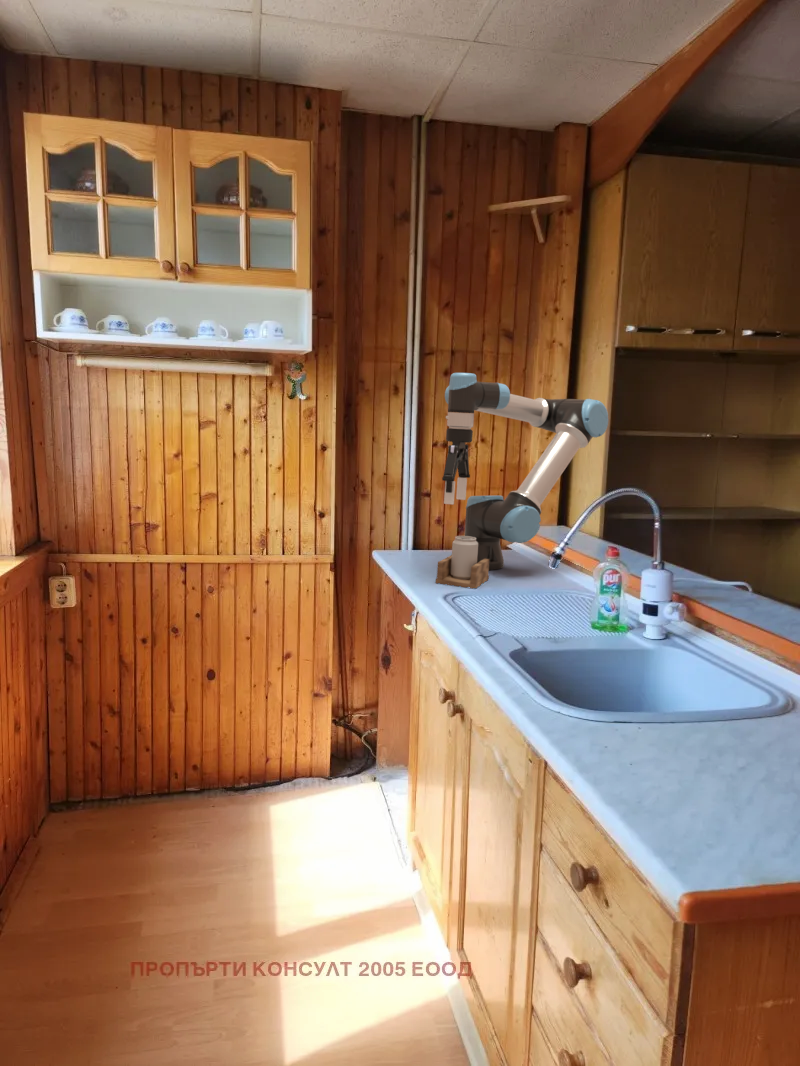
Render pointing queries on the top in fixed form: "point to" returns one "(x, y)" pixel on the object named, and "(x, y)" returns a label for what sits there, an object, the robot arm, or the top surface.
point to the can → (463, 556)
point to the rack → (477, 578)
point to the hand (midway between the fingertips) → (455, 501)
